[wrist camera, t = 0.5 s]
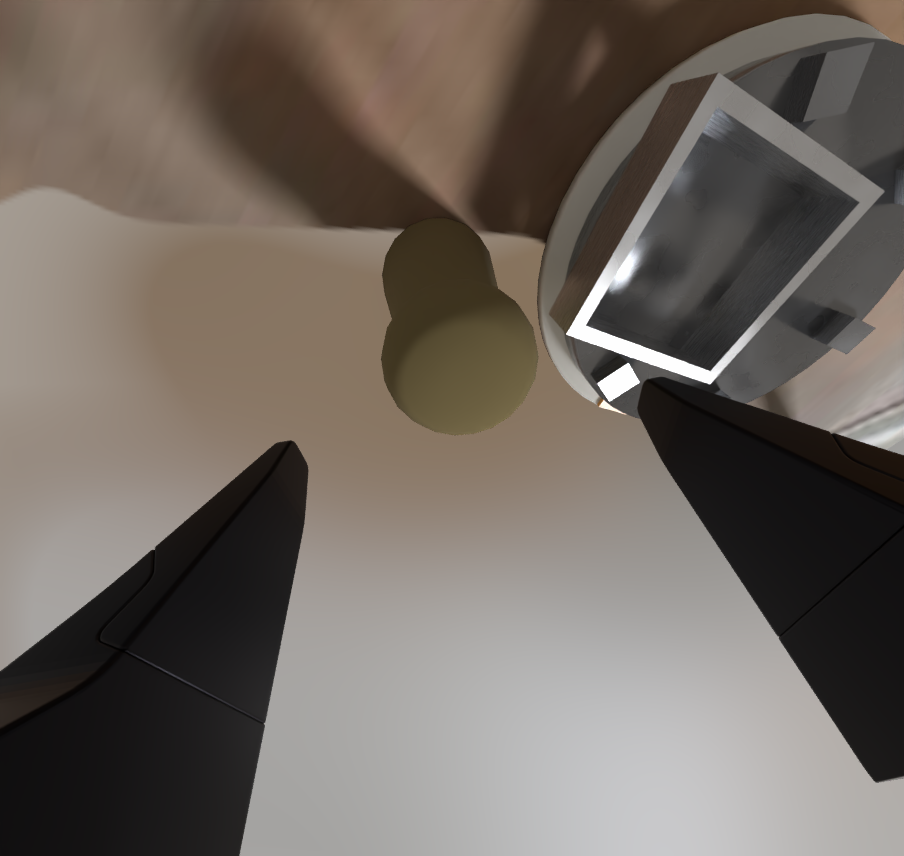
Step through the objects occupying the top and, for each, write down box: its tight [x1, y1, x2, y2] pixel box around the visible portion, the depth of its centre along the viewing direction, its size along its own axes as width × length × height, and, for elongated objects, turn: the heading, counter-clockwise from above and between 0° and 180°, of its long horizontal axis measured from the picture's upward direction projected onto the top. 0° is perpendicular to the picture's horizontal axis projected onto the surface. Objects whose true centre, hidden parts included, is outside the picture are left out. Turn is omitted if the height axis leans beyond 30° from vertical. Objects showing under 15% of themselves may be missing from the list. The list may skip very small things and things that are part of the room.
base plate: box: [537, 14, 891, 414], centre depth 20 cm, size 19×19×1 cm
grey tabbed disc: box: [548, 37, 904, 419], centre depth 18 cm, size 17×17×4 cm
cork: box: [381, 218, 538, 435], centre depth 15 cm, size 6×6×11 cm
